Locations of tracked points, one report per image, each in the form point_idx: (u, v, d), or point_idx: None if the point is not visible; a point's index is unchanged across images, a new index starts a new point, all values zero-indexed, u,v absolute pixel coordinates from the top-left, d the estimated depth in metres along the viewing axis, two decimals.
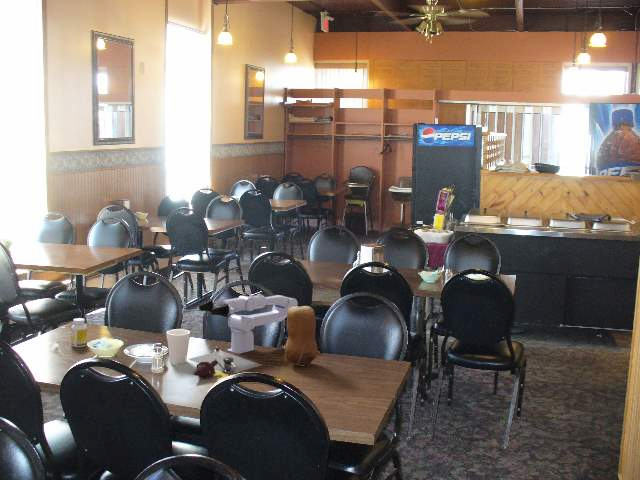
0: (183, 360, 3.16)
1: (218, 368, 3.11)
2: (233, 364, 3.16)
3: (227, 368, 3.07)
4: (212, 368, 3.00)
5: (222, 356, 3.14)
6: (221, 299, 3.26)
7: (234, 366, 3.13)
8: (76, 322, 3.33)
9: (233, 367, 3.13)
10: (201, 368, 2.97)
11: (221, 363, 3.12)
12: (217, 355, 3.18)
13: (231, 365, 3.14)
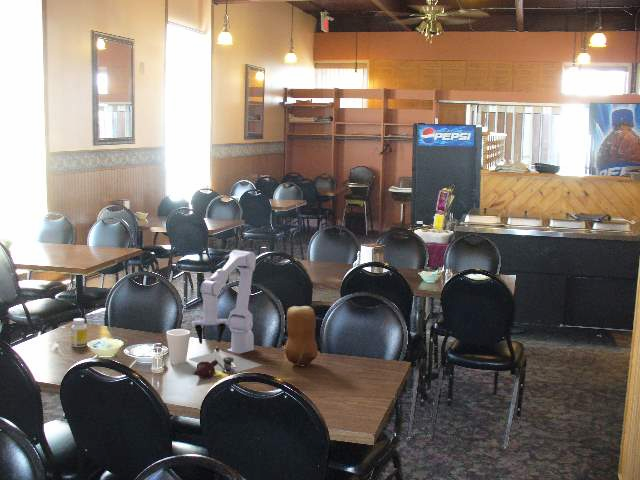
0: (183, 360, 3.16)
1: (218, 368, 3.11)
2: (233, 364, 3.16)
3: (227, 368, 3.07)
4: (212, 368, 3.00)
5: (222, 356, 3.14)
6: None
7: (234, 366, 3.13)
8: (76, 322, 3.33)
9: (233, 367, 3.13)
10: (201, 368, 2.97)
11: (221, 363, 3.12)
12: (217, 355, 3.18)
13: (231, 365, 3.14)
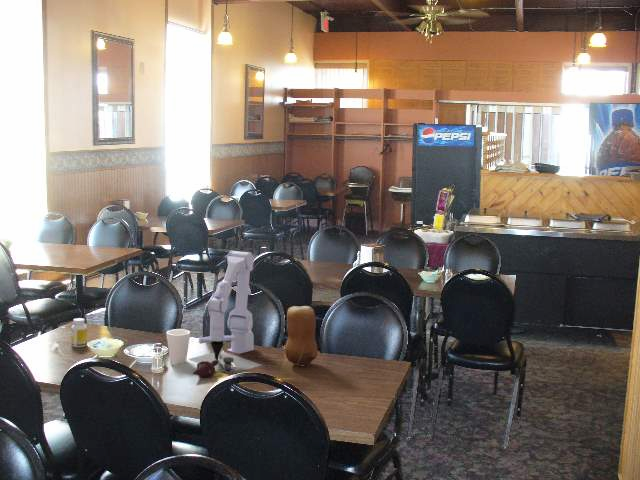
0: (183, 360, 3.16)
1: (218, 368, 3.11)
2: (233, 364, 3.16)
3: (227, 368, 3.07)
4: (212, 368, 3.00)
5: (223, 356, 3.14)
6: None
7: (234, 366, 3.13)
8: (76, 322, 3.33)
9: (233, 367, 3.13)
10: (201, 368, 2.98)
11: (222, 363, 3.12)
12: (219, 355, 3.18)
13: (231, 365, 3.14)
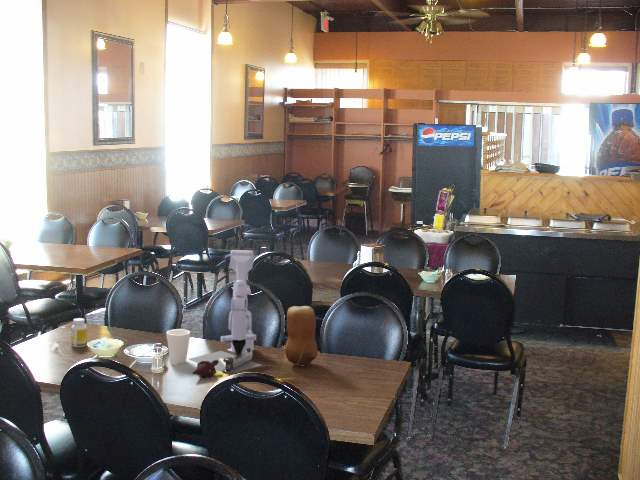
0: (183, 360, 3.16)
1: (218, 368, 3.11)
2: None
3: (227, 368, 3.07)
4: (212, 367, 3.01)
5: (236, 356, 3.14)
6: (239, 339, 3.17)
7: None
8: (76, 322, 3.33)
9: None
10: (201, 367, 2.98)
11: None
12: None
13: None
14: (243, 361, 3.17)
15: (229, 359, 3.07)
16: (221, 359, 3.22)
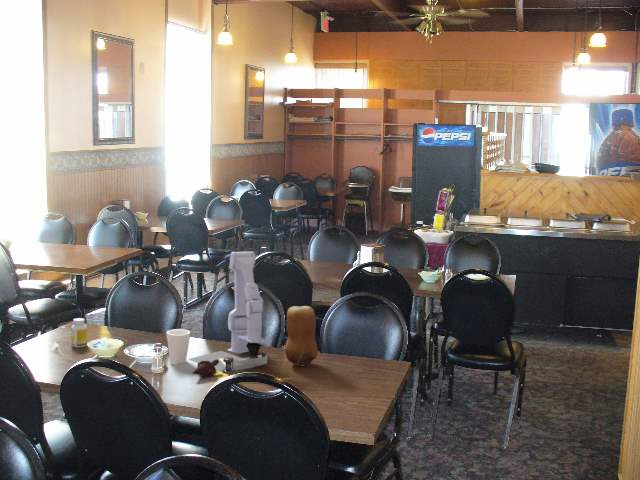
0: (183, 360, 3.16)
1: (218, 368, 3.11)
2: None
3: (227, 368, 3.07)
4: (212, 367, 3.01)
5: (243, 358, 3.12)
6: None
7: None
8: (76, 322, 3.33)
9: None
10: (201, 367, 2.98)
11: None
12: None
13: None
14: (251, 364, 3.13)
15: (228, 359, 3.06)
16: (221, 359, 3.22)
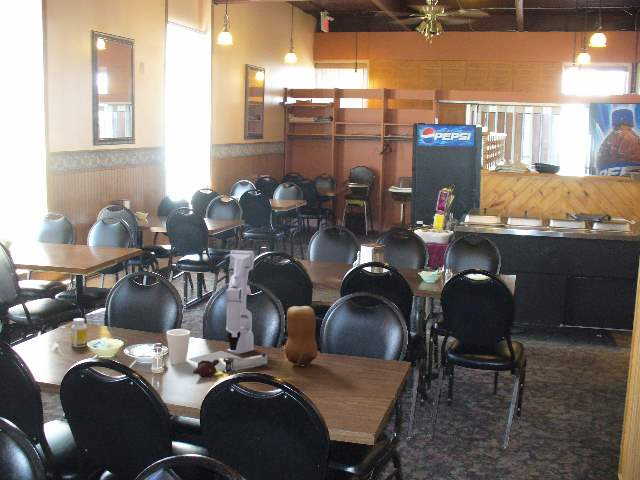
0: (183, 360, 3.16)
1: (218, 368, 3.11)
2: None
3: (227, 368, 3.07)
4: (213, 367, 3.01)
5: (243, 358, 3.12)
6: None
7: None
8: (76, 322, 3.33)
9: None
10: (201, 367, 2.99)
11: None
12: None
13: None
14: (251, 364, 3.13)
15: (228, 359, 3.06)
16: (221, 359, 3.22)
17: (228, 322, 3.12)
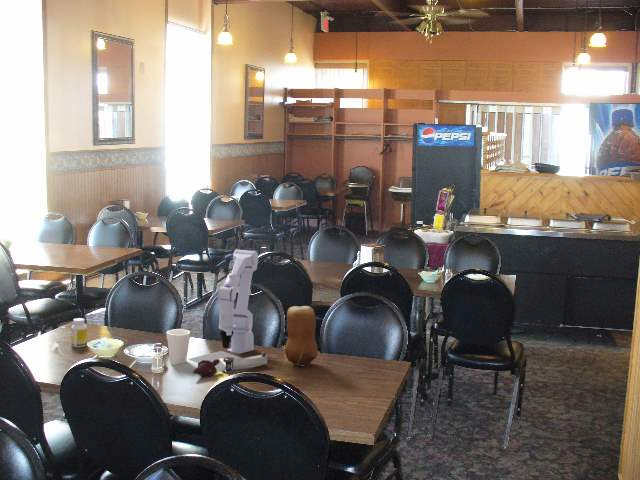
0: (183, 360, 3.16)
1: (218, 368, 3.11)
2: None
3: (227, 368, 3.07)
4: (213, 367, 3.01)
5: (243, 358, 3.12)
6: None
7: None
8: (76, 322, 3.33)
9: None
10: (201, 366, 2.99)
11: None
12: None
13: None
14: (251, 364, 3.13)
15: (228, 359, 3.06)
16: (221, 359, 3.22)
17: (221, 320, 3.16)
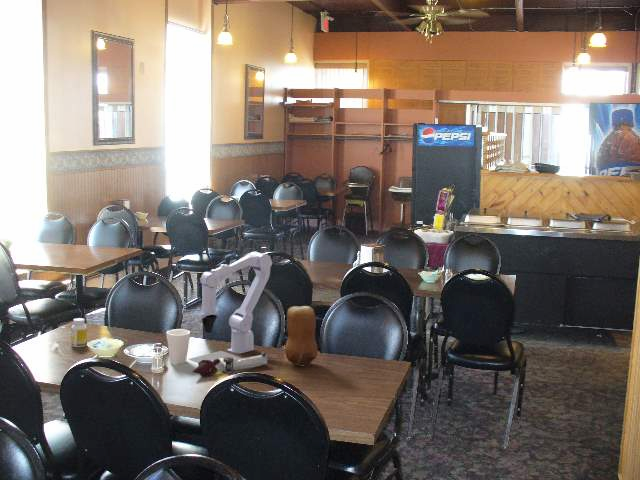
0: (183, 360, 3.16)
1: (218, 368, 3.11)
2: None
3: (227, 368, 3.07)
4: (213, 366, 3.02)
5: (243, 358, 3.12)
6: (215, 313, 3.24)
7: None
8: (76, 322, 3.33)
9: None
10: (202, 366, 2.99)
11: None
12: None
13: None
14: (251, 364, 3.13)
15: (228, 359, 3.06)
16: (221, 359, 3.22)
17: (202, 305, 3.24)
